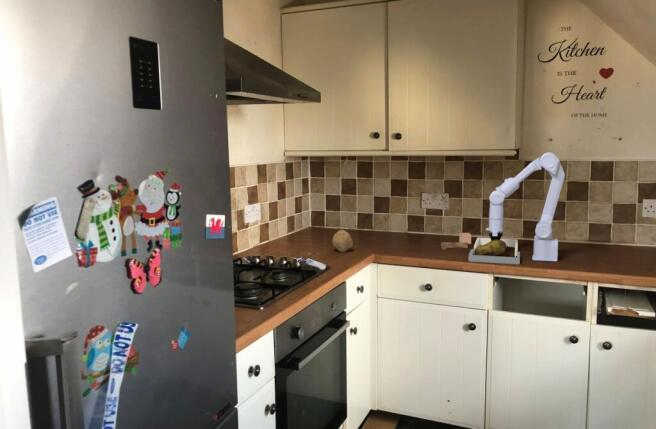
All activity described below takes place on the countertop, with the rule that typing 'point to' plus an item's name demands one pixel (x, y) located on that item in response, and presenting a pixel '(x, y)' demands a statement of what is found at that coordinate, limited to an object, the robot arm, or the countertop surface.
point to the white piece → (508, 241)
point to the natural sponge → (342, 241)
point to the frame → (494, 258)
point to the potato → (491, 248)
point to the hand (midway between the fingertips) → (495, 249)
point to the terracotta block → (465, 238)
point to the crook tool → (453, 245)
